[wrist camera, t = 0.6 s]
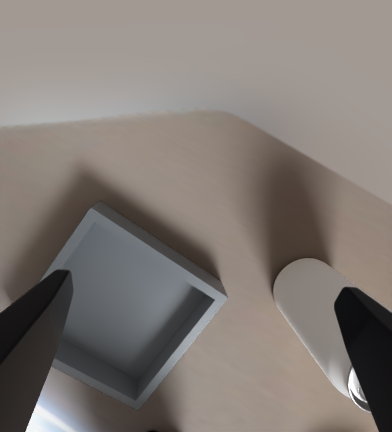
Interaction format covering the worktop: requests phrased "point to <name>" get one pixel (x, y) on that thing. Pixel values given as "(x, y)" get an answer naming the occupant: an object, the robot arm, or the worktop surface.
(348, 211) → the worktop surface
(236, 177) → the worktop surface
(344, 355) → the can
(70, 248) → the tray
